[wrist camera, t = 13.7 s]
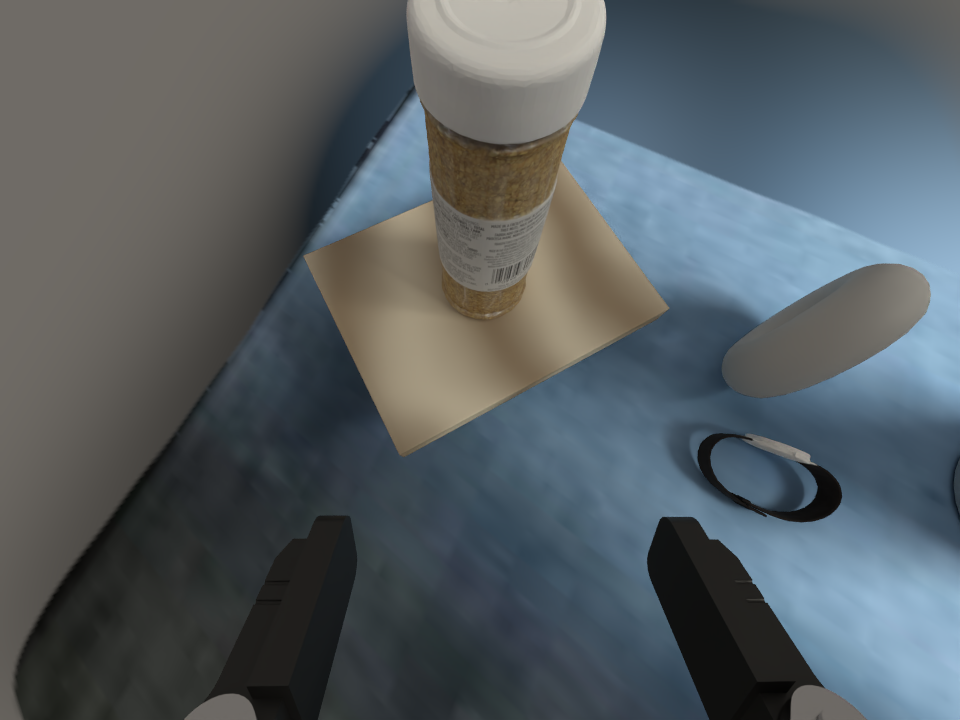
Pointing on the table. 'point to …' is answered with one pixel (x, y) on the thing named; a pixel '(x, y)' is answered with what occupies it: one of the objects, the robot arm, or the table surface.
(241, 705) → the robot arm
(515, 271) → the sprinkles bottle
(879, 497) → the table surface
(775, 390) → the donut
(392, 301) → the small wooden stool
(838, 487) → the watch
